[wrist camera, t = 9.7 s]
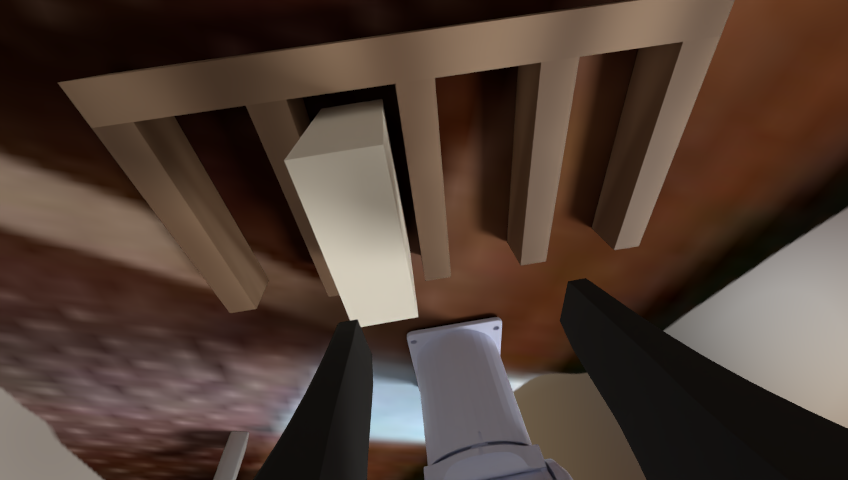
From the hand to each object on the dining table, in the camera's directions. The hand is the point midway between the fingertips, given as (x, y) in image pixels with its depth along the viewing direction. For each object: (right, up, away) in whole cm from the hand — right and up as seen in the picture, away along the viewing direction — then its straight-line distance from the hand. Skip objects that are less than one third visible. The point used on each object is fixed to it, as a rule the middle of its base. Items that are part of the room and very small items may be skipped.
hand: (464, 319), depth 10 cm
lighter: (-22, -20, +23) cm, 38 cm away
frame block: (-4, +6, +7) cm, 10 cm away
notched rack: (-1, +6, +7) cm, 9 cm away
